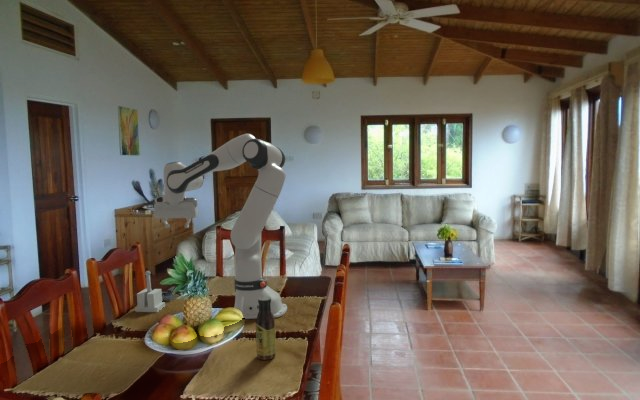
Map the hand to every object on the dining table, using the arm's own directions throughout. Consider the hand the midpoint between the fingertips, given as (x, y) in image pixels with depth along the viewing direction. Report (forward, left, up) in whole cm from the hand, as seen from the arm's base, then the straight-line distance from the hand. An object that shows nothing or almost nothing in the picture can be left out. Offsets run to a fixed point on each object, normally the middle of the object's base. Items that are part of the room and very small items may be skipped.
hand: (177, 227), depth 208 cm
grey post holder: (+7, +16, -33) cm, 37 cm away
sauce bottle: (-56, +57, -33) cm, 87 cm away
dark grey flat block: (+7, -1, -33) cm, 34 cm away
